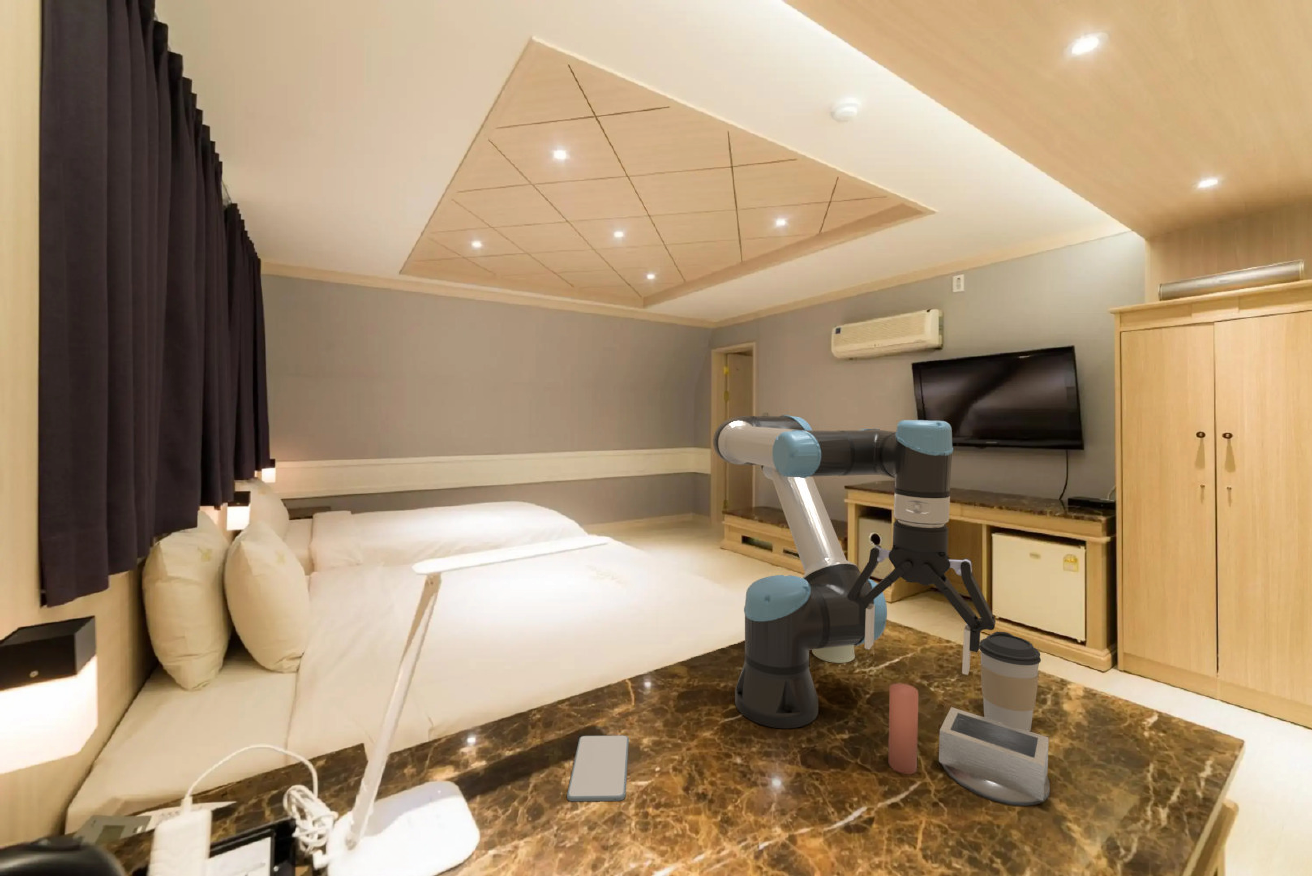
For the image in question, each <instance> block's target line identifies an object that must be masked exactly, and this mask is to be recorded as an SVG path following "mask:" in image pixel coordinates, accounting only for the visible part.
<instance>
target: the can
mask: <svg viewBox="0 0 1312 876" xmlns="http://www.w3.org/2000/svg"><path fill="white" fill-rule="evenodd" d="M811 652H812V654H813V655H814V656H815V657H816V658H818V659H819V660H822V661H824V662H829V663H833V664H834V663H835V664H845V663H846V664H847V663H850V662H852V661H853V660H854V659H855V657H856V655H855V646H854V645H848V646H839V647H829V648H820V649H812V650H811Z"/></svg>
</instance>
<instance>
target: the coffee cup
mask: <svg viewBox="0 0 1312 876" xmlns="http://www.w3.org/2000/svg"><path fill="white" fill-rule="evenodd" d="M979 652H980V661H979V662H980V665H979V666H980V681H981V683H980V684H981V695H982V698H983V715H984V716H983V717H985V718H988V719H991V720H994V721H997V722H1001V723H1004V724H1007V725H1010V726H1013V727H1017V728H1020V729H1023V730H1026V731H1030V732H1031V730H1032V723H1033V722H1032V721H1033V716H1034V715H1033V714H1034V709H1035V706H1036V701H1037V693H1038V685H1039V684H1038V683H1039V675H1040V673H1039V667H1040V663H1041V661H1042V658H1041V653H1040V651H1039V650H1038V649H1037V648H1036V647H1034V645H1033V643H1032V642H1031V641H1028V640H1027V639H1025V638H1023V637H1019V636H1014V635H1013V634H1011V633H1009V632H1006V631H995V632H993V633H992V634H989V635H987V636H986V637H985V638H982V639H980V647H979Z"/></svg>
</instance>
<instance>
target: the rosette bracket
mask: <svg viewBox="0 0 1312 876" xmlns="http://www.w3.org/2000/svg"><path fill="white" fill-rule="evenodd" d="M938 739H939V741H938V743H939V745H938V762H939V763H940V764H941V766H942V768H943V770H944V771H945V773H946V774H947V775H948V776H949V777H950V778H951V779H953V781H955V782H956V783H957V784H959V785H960V786H962V787H963V788H964V789H966V790H968V791H969V792H971V793H974V795H975V794H976V795H978V796H980V797H982V798H984V799H987V800H991V801H992V802H996V803H1000V804H1004V805H1009V806H1014V807H1015V806H1017V807H1018V806H1019V807H1031V806H1036V805H1040V804H1042V803H1044V802H1045V801H1046V800H1047V799H1048V798H1049V797H1050V789H1051V788H1050V787H1051V786H1050V785H1051V784H1050V783H1051V782H1050V780H1049V777H1048V766H1049V765H1048V763H1049V736H1045V735H1042V734H1039V733H1035V732H1032V731H1031V730H1030V731H1026V730H1023V729H1020V728H1017V727H1013V726H1010V725H1007V724H1004V723H1001V722H997V721H994V720H991V719H988V718H985V717H984V716H981V715H977V714H975V713H972V712H968V711H965V710H962V709H958V708H955V707H950V709H949V711H948V713H947V714H946V716H945V718H944V720H943V722H942V725H941V727H940V729H939V737H938Z"/></svg>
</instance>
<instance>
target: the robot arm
mask: <svg viewBox="0 0 1312 876" xmlns="http://www.w3.org/2000/svg"><path fill="white" fill-rule="evenodd" d="M952 430H953V429H952V426H951V424H950V423H948V422H947V421H944V420H924V419H913V420H912V419H906V420H905V419H904V420H899V422H898V423H897V425H896V431H893V430H886V429H885V430H882V429H879V428H864V429H863V428H862V429H858V430H857V429H856V430H854V429H853V430H852V429H851V430H849V429H847V430H846V429H845V430H813V429H812V427H811V425H810V424H809V423H808V421H806V419H803V418H802V417H799V416H791V415H788V414H787V415H786V414H783V415H778V416H777V415H776V416H772V415H771V416H770V415H769V416H768V415H767V416H765V415H744V416H743V415H740V416H735V417H731V418H729V419H727V420H724V421H723V422H722V423H720V424H719V426H717V428H716V429H715V431H714V434H713V438H712V446H713V450H714V452H715V454H716V455H717V456H718V457H719V458H720V459H721V460H722V461H723V462H726V463H729V464H733V465H737V466H738V465H740V466H742V465H743V466H760V467H761V470H762V473H763V475H764V477H766V478H767V479H769V480H772V483H773V485H774V488H775V491H776V493H777V496H778V500H779V502H780V503H779V504H781V505H780V506H781V508H782V511H783V514H784V517H785V520H786V522H787V525H788V528H789V532H790V533H791V536H792V539H793V542H794V546H795V549H796V551H797V554H798V556H799V559H800V562H801V565H802V568H803V571H804V575H802V577H800V576H797V575H790V574H789V575H784V574H779V575H778V574H777V575H769V576H766V577H761V578H759V579H757V580H755V581H754V582H752V583H751V584H750V585H749V586H748V588H747V589H746V593H745V602H744V603H745V604H744V606H743V612H744V662H743V667H742V668H741V672H740V675H739V676H738V681H737V683H736V686H735V691H734V692H735V693H734V695H735V696H734V698H735V699H734V702H735V707H736V708H737V710H738V712H739V713H740V714H741V715H743V716H744V717H745V718H747V719H748V720H750V721H752V722H754V723H756V724H759V725H762V726H766V727H770V728H775V729H776V728H777V729H794V728H799V727H804V726H807V725H809V724H811V723H813V722H814V721H815V720H816V719H817V716H818V715H819V696H818V693H817V690H816V687H815V684H814V681H813V678H812V674H811V671H810V662H809V661H810V660H809V659H810V651H812V649H820V648H829V647H839V646H848V645H854V647H855V646H856V647H858V646H860V645H861V644H863V645H864V649H866V650H871V648H872V646H873V645H874V643H875V641H876V640H878V639H879V638H880V637H881V636H882V634H883V633H884V631H885V628H886V626H887V619H888V607H887V601H886V597H885V594H884V591H885V590H886V589H888V588H889V587H891V585H892V584H894V583H896V582H897V581H898V580H899V579H900V578H902V579H903V580H905V582H906V583H914V584H915V583H918V584H920V585H923V586H927V587H928V586H930V585H935V587H936V588H937V590H938V591H939V592H941V593H942V595H943V596H944V597H945V598H946V599H947V601H948V602H949V603H950V605H951V606H952V607H953V609H954V610H955V611H956V612H957V613H958V615H959V616H960V617H961V618H962V620H963V621H964V622H965V625H964V629H963V645H962V646H963V647H962V668H961V669H962V670H961V674H963V675H966V676H968V675H969V673H970V668H971V666H970V665H971V652H972V653H973V652H974V653H978V652H979V651H980V649H979V647H980V641H981V632H982V631H984V630H985V631H986V630H988V631H993V630H994V629H995V628H996V618H995V616H994V614H993V612H992V610H991V608H990V606H989V604H988V602H987V600H986V598H985V596H984V594H983V592H982V590H981V588H980V585H979V583H978V582H977V580H976V579H975V578H976V577H975V576H974V573H973V563H972V561H971V558H966V557H965V558H963V559H951V558H950V557H949V554H948V553H949V552H948V550H949V527H948V525H946V524H947V523H949V521H950V505H951V503H950V502H951V479H952V478H951V477H952V475H951V474H952V455H953V452H954V447H953V432H952ZM831 476H833V477H835V476H836V477H837V476H839V477H845V476H846V477H847V476H849V477H850V476H884V477H890V478H893V479H894V497H893V498H894V500H893V517H894V518H895V519H896V520H895V521H894V522H893V529H892V530H893V531H892V546H891V547H892V548H891V549H886V548H882V546H881V545H879V544H876V545H874V546H873V547H872V548H871V549H870V551H869V557H868V562H867V563H866V565H865V567H864V568H863V570H862V572H860V569H859V566H858V565H857V564H855V563H854V562H851V561H849V560H847V558H846V556H845V553H844V551H843V548H842V546H841V544H840V541H839V537H838V536H837V534H836V531H835V528H834V527H833V526H834V525H833V524H832V521H831V519H830V516H829V514H828V510H826V507H825V503H824V501H823V499H822V497H821V494H820V492H819V489H818V487H817V484H816V482H815V480H814V477H816V478H817V477H831ZM886 558H888V559H889V561H890V562H891V564H892V565H893V567H894V569H893V570H892V571H891V572H889V573H888V574H886V576H885V577H884V578H883V579H881V580H880V581H879V582H878V583H877V582H875V581H874V580H872V579H870V577H871V576H872V574H873V573H874V571H875V570H876V568H877V566H878V565H879V563H882V562H884V561H885V559H886ZM950 569H953V570H954V571H955V574H956V575H958V576H960V577H961V580H962V582H963V584H964V585H963V586H965V589H966V591H967V593H968V595H969V596H970V599H971V601H972V603H973V606H974V607H975V609H976V612H977V614H978V615H979V616H977V615H976V613H975V612H974V611H973V610H972V608H971V607H970V606H969V604H968V603H967V602H966V601H965V600H964V598H963V597H962V595H961V594H960V593H959V592H958V591H957V589H956V588H955V587H954V586H953V584H952V583H951V581H950V579H949V578H948V576H947V575H946V572H948V571H949V570H950ZM979 617H980V618H979Z"/></svg>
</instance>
